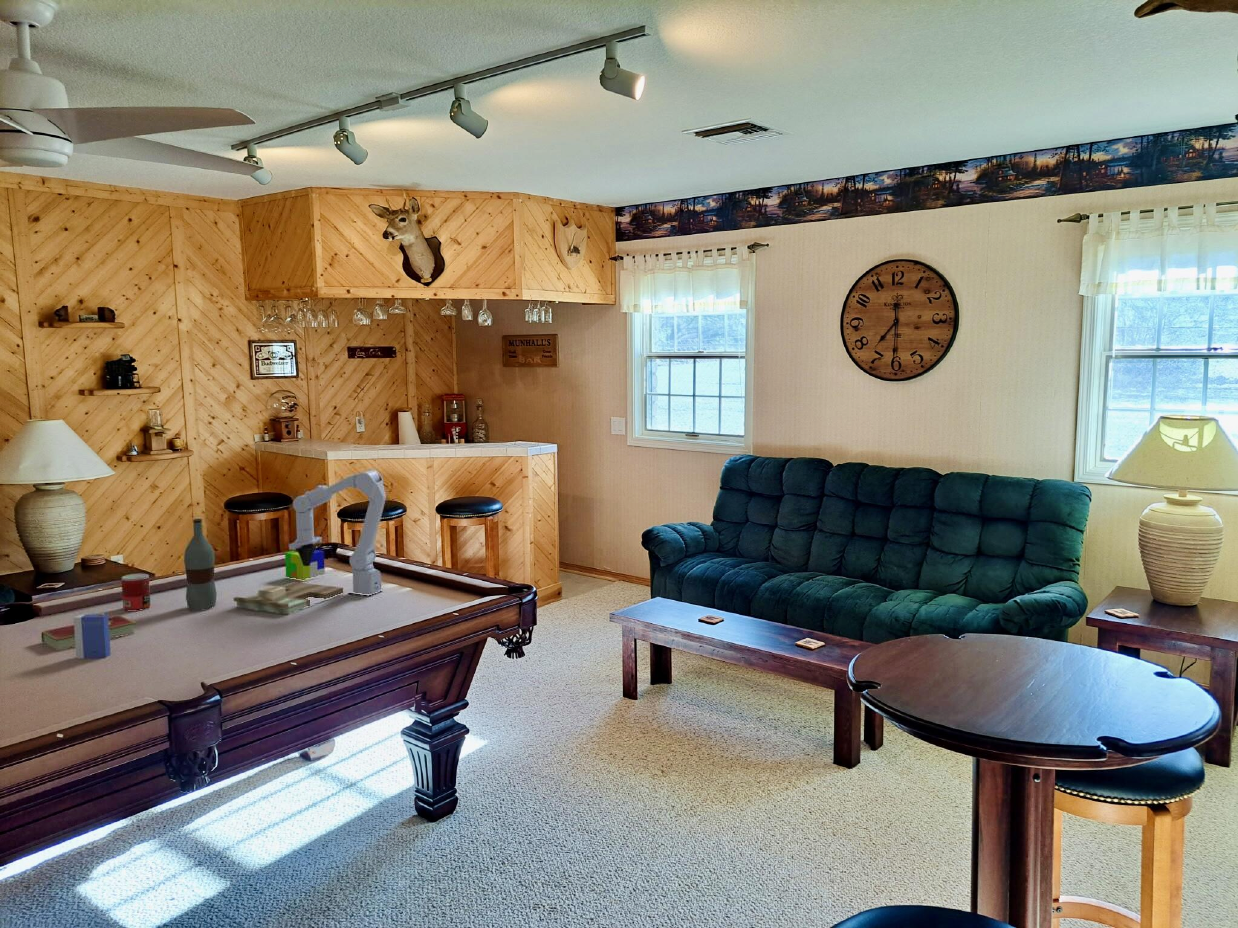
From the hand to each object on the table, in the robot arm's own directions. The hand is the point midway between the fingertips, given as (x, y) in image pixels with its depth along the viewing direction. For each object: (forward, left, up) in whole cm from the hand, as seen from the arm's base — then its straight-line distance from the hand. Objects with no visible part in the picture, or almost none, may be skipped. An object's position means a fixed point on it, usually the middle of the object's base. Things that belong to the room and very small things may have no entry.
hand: (306, 565), depth 305 cm
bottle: (+18, +30, -10) cm, 36 cm away
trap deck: (-4, +13, -9) cm, 17 cm away
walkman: (+6, +78, -10) cm, 79 cm away
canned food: (+37, +39, -10) cm, 55 cm away
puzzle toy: (+15, -16, -10) cm, 24 cm away
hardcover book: (+22, +67, -10) cm, 71 cm away
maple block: (-4, +22, -7) cm, 23 cm away
